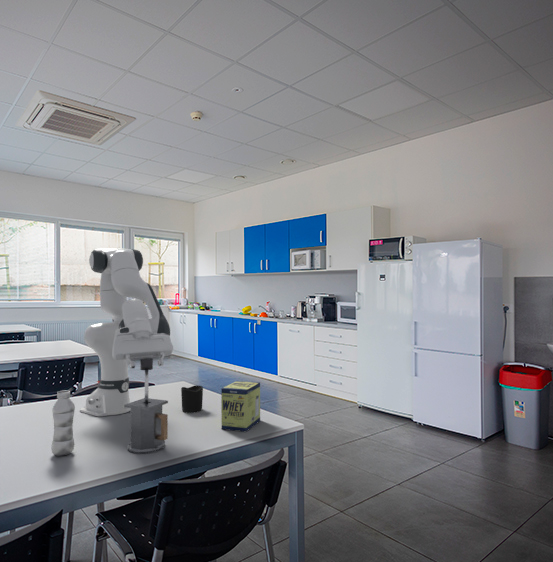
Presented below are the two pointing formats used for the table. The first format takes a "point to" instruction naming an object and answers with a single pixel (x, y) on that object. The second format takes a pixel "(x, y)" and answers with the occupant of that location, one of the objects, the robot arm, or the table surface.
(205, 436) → the table surface
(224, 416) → the protein box
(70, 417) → the plastic bottle
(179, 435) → the table surface
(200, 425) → the table surface
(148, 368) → the plunger
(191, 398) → the pen holder
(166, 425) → the press carafe
